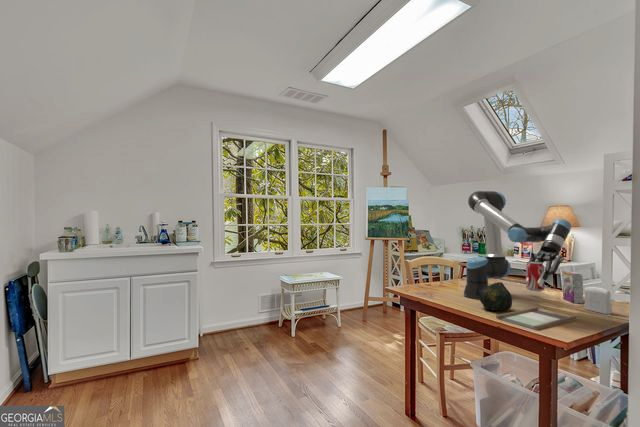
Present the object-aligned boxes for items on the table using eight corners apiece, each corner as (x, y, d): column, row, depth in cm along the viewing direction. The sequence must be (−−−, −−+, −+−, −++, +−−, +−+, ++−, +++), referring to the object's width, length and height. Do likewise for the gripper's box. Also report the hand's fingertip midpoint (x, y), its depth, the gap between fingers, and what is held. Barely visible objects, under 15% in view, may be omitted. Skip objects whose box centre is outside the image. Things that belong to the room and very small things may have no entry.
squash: (469, 297, 167) (488, 278, 160) (483, 294, 176) (502, 276, 169) (490, 320, 158) (511, 301, 151) (503, 316, 167) (524, 298, 160)
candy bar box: (562, 298, 185) (561, 270, 186) (571, 299, 184) (571, 270, 185) (573, 303, 174) (572, 273, 175) (583, 303, 173) (583, 274, 174)
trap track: (496, 318, 149) (496, 315, 149) (535, 309, 162) (535, 307, 162) (536, 330, 132) (536, 326, 132) (576, 319, 146) (576, 316, 146)
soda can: (523, 288, 152) (522, 261, 152) (538, 288, 152) (537, 261, 152) (532, 291, 145) (531, 263, 145) (548, 291, 145) (547, 263, 145)
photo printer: (612, 314, 154) (612, 288, 155) (608, 315, 153) (607, 289, 153) (587, 308, 164) (587, 284, 164) (583, 309, 162) (582, 285, 162)
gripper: (576, 252, 147) (558, 292, 139) (536, 249, 162) (518, 285, 155) (569, 241, 145) (551, 281, 137) (530, 239, 160) (511, 275, 152)
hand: (533, 283), depth 146 cm, fingers closed on soda can, 4 cm apart
